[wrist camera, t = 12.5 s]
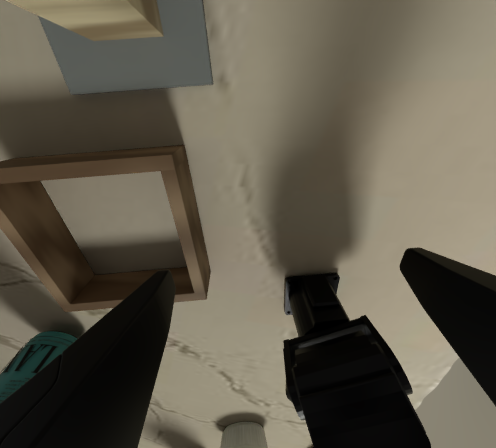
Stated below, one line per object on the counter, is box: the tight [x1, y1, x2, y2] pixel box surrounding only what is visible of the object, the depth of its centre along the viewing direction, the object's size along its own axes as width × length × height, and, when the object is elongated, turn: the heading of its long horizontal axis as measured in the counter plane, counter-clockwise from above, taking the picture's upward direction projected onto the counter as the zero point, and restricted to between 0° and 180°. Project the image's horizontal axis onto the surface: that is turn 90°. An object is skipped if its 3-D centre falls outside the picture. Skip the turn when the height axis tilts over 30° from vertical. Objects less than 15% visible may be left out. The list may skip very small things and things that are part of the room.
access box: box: [0, 145, 211, 312], centre depth 19 cm, size 14×14×4 cm
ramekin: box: [220, 422, 268, 448], centre depth 46 cm, size 11×11×5 cm
